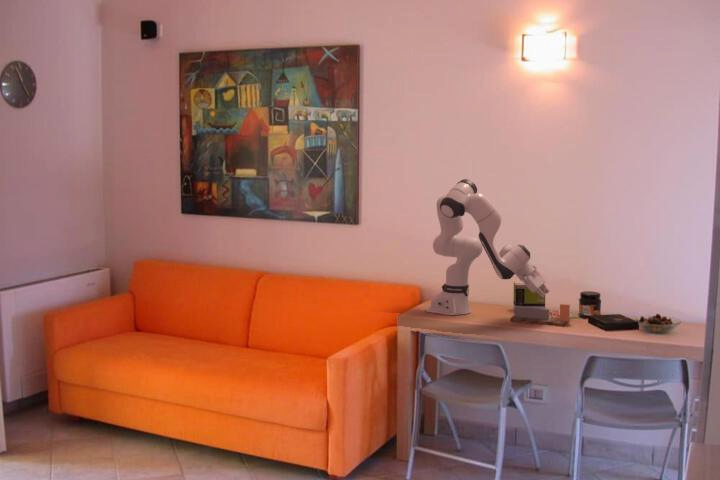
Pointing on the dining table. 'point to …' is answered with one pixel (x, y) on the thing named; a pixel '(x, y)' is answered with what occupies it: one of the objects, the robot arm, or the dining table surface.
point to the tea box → (527, 296)
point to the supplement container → (589, 304)
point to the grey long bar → (532, 312)
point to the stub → (564, 312)
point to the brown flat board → (540, 321)
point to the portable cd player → (613, 322)
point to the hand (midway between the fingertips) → (546, 294)
